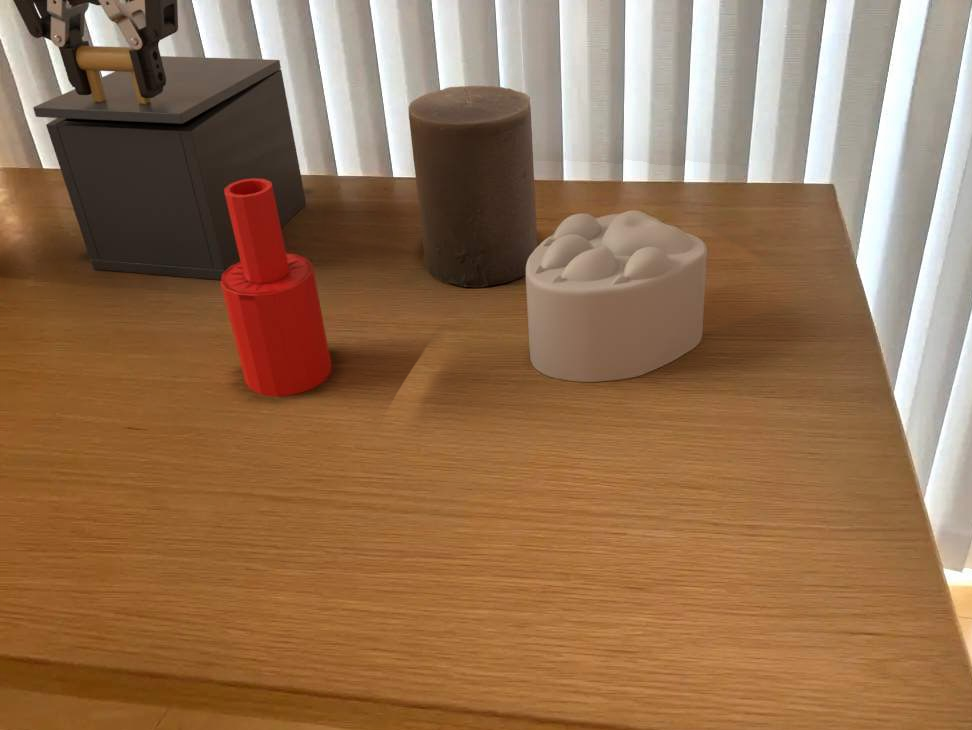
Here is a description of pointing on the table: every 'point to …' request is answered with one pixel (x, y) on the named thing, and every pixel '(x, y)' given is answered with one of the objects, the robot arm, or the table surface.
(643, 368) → the lumpy-topped squat cylinder
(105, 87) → the lid
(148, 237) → the bin
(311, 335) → the bottle
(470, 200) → the pillar candle
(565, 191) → the table surface
